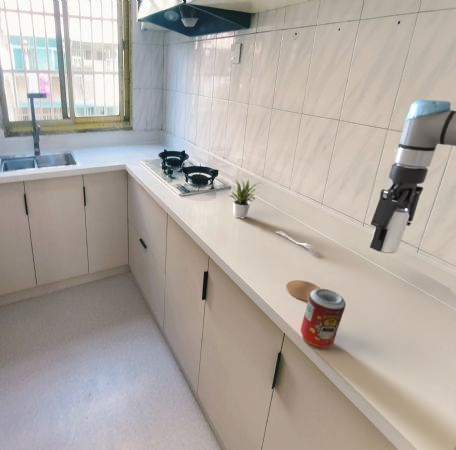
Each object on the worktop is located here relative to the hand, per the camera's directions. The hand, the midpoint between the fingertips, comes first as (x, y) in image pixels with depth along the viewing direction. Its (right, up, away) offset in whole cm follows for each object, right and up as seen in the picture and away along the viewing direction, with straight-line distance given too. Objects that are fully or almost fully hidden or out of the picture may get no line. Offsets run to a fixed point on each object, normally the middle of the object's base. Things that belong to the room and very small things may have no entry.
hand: (383, 246), depth 94 cm
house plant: (-26, +9, +51) cm, 58 cm away
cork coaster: (-22, -12, +1) cm, 25 cm away
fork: (-13, -1, +28) cm, 31 cm away
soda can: (-27, -20, -17) cm, 38 cm away
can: (0, -1, 0) cm, 1 cm away
